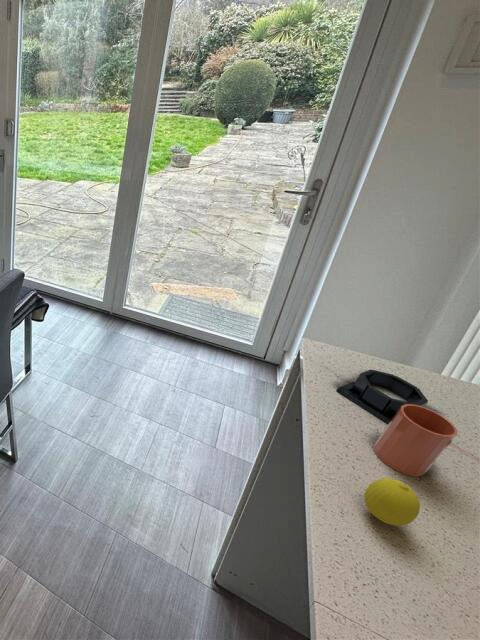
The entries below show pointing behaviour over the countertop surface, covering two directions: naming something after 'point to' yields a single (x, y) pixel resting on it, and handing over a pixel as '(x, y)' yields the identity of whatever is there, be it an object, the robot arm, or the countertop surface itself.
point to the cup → (414, 439)
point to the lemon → (392, 501)
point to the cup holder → (382, 394)
